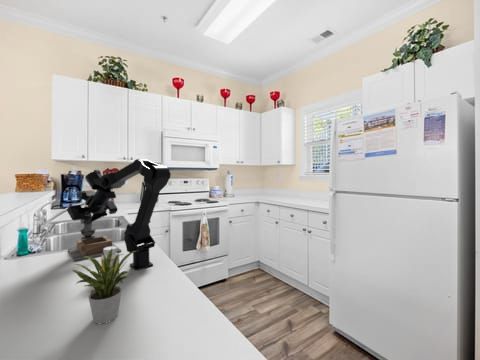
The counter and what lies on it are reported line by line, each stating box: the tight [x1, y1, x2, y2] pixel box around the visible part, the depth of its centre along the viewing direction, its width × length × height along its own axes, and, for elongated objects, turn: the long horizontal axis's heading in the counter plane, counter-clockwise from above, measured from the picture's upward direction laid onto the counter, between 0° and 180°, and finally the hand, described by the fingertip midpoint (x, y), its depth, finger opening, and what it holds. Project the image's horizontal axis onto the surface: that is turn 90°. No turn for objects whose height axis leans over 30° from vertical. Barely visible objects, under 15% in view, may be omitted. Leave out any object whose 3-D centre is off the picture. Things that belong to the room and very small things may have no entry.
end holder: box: [67, 235, 122, 263], centre depth 107 cm, size 18×17×5 cm
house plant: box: [72, 249, 138, 324], centre depth 60 cm, size 14×14×16 cm
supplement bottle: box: [100, 245, 120, 278], centre depth 82 cm, size 5×5×10 cm
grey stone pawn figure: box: [80, 213, 97, 240], centre depth 105 cm, size 6×6×12 cm
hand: (86, 222), depth 105 cm, fingers closed on grey stone pawn figure, 4 cm apart
